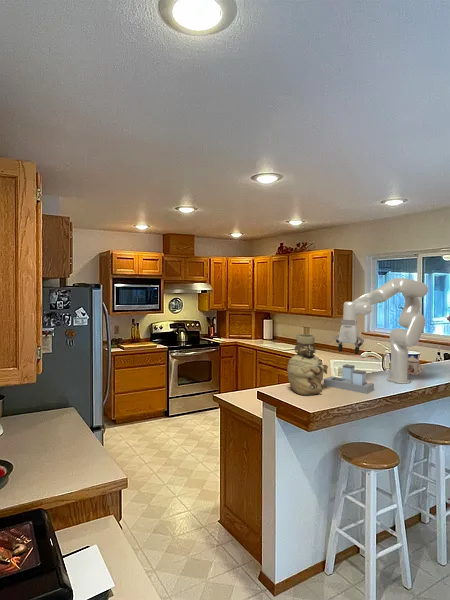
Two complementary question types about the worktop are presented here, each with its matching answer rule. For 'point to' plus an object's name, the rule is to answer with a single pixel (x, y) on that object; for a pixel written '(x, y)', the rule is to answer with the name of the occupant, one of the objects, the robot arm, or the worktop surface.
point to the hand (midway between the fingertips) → (348, 352)
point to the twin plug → (359, 377)
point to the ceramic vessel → (306, 367)
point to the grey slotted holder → (348, 385)
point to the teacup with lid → (413, 366)
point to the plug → (348, 371)
